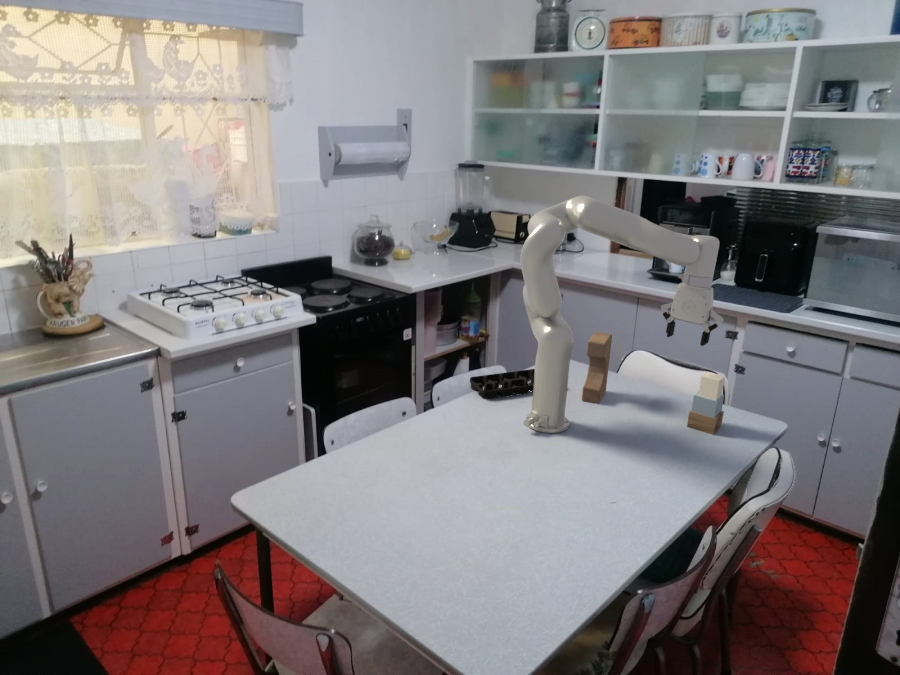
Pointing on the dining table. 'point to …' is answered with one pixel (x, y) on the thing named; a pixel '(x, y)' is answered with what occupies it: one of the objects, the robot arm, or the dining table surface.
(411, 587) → the dining table surface
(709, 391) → the cream block
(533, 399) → the robot arm
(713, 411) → the tower top
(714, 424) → the tower base
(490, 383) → the egg carton
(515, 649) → the dining table surface
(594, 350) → the decorative block
